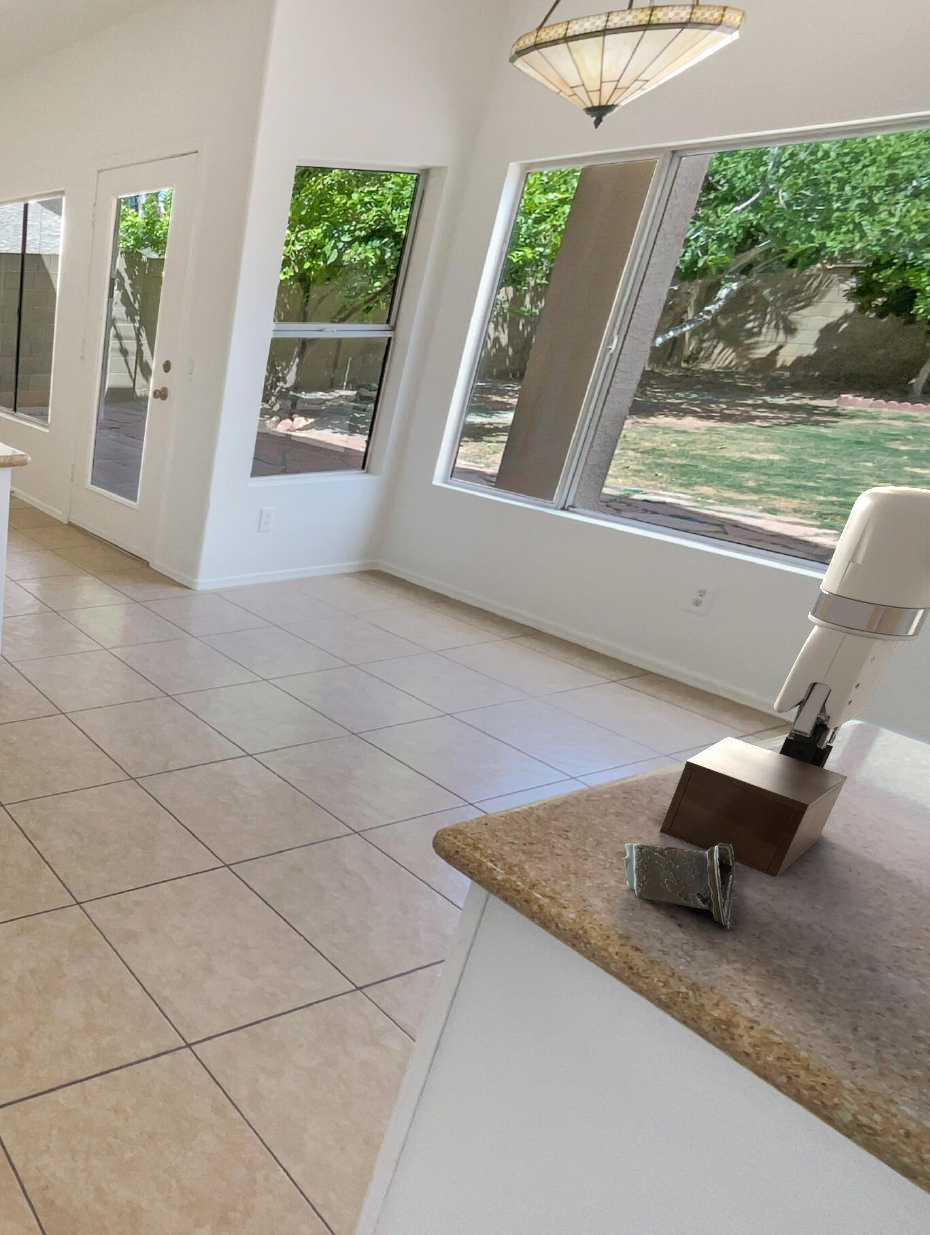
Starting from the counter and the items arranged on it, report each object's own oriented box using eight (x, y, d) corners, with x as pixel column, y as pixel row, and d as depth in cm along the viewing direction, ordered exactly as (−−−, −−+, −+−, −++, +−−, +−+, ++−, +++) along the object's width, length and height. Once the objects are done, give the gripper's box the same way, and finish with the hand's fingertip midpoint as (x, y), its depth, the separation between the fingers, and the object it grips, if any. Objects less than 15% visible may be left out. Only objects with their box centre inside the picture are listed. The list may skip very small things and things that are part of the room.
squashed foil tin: (638, 841, 85) (613, 795, 78) (736, 851, 79) (718, 803, 73) (637, 936, 81) (611, 897, 74) (740, 953, 76) (721, 913, 69)
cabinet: (701, 805, 91) (729, 736, 88) (813, 848, 84) (847, 776, 81) (659, 832, 86) (686, 760, 83) (774, 881, 79) (808, 804, 76)
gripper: (839, 591, 90) (774, 742, 96) (787, 614, 83) (721, 775, 89) (944, 613, 84) (867, 773, 90) (897, 639, 77) (818, 810, 83)
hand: (795, 773), depth 90 cm, fingers closed
